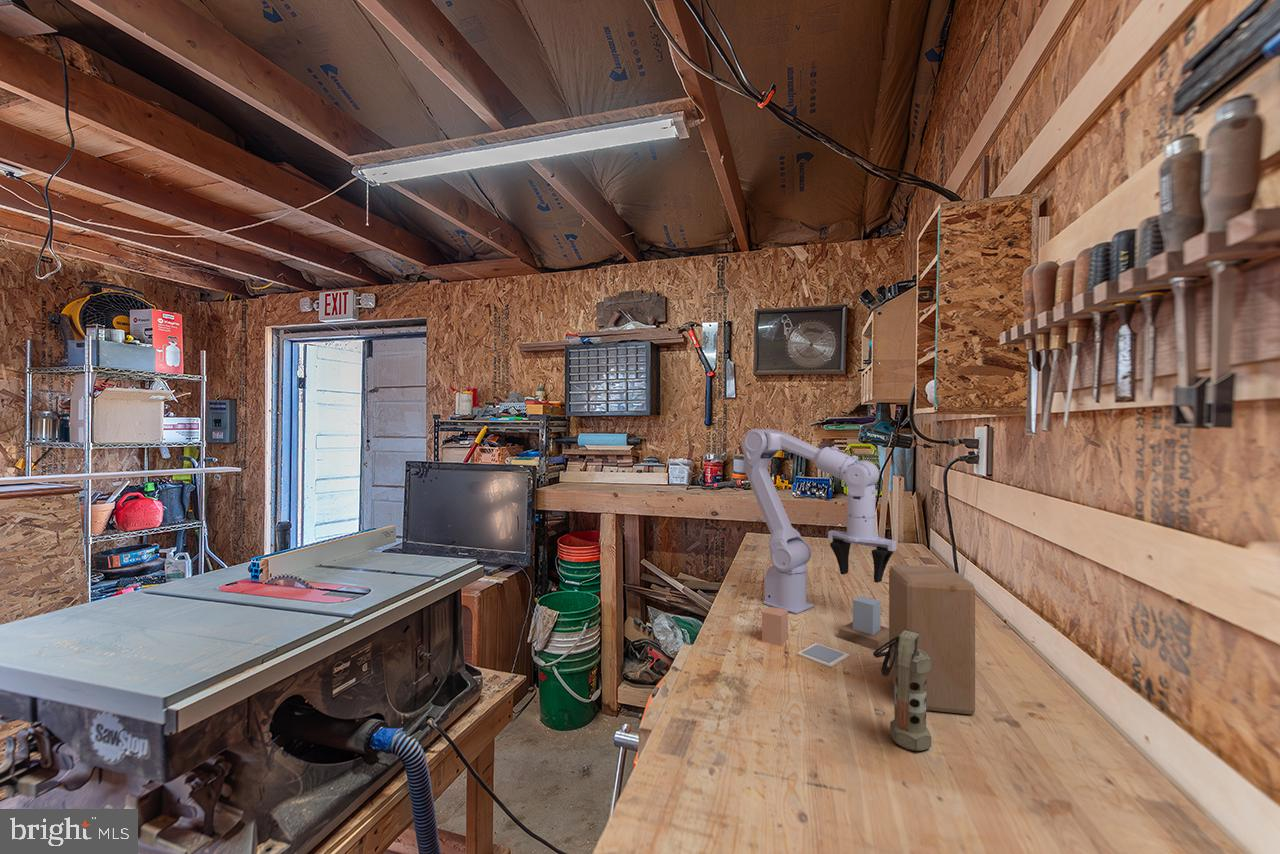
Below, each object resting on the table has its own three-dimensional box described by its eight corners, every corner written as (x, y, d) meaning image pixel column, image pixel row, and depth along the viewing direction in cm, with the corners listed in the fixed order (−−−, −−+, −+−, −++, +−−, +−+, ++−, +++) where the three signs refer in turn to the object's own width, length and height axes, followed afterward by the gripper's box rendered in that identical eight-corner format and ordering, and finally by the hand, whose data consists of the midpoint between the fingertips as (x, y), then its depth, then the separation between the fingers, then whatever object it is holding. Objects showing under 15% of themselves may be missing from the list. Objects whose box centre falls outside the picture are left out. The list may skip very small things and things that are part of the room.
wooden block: (978, 718, 76) (978, 583, 76) (905, 710, 78) (905, 579, 78) (951, 685, 86) (951, 566, 86) (887, 679, 88) (887, 563, 88)
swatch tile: (796, 654, 97) (796, 651, 97) (815, 644, 102) (815, 641, 102) (831, 667, 92) (831, 664, 92) (849, 656, 96) (849, 653, 96)
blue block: (852, 629, 104) (853, 599, 104) (860, 624, 107) (861, 595, 107) (872, 635, 101) (873, 605, 101) (880, 630, 104) (880, 600, 104)
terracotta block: (761, 641, 103) (762, 612, 103) (768, 635, 106) (768, 606, 106) (781, 646, 101) (781, 616, 101) (787, 639, 104) (787, 610, 104)
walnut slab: (839, 640, 105) (839, 628, 105) (857, 630, 110) (857, 619, 110) (878, 653, 99) (878, 640, 99) (895, 642, 104) (895, 630, 104)
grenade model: (881, 723, 74) (881, 620, 74) (934, 742, 70) (934, 633, 70) (867, 743, 70) (867, 633, 70) (923, 765, 65) (923, 648, 65)
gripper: (821, 513, 115) (820, 573, 115) (886, 522, 104) (885, 589, 104) (837, 510, 120) (837, 567, 120) (901, 519, 109) (900, 582, 109)
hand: (860, 577), depth 112 cm, fingers open, 7 cm apart
